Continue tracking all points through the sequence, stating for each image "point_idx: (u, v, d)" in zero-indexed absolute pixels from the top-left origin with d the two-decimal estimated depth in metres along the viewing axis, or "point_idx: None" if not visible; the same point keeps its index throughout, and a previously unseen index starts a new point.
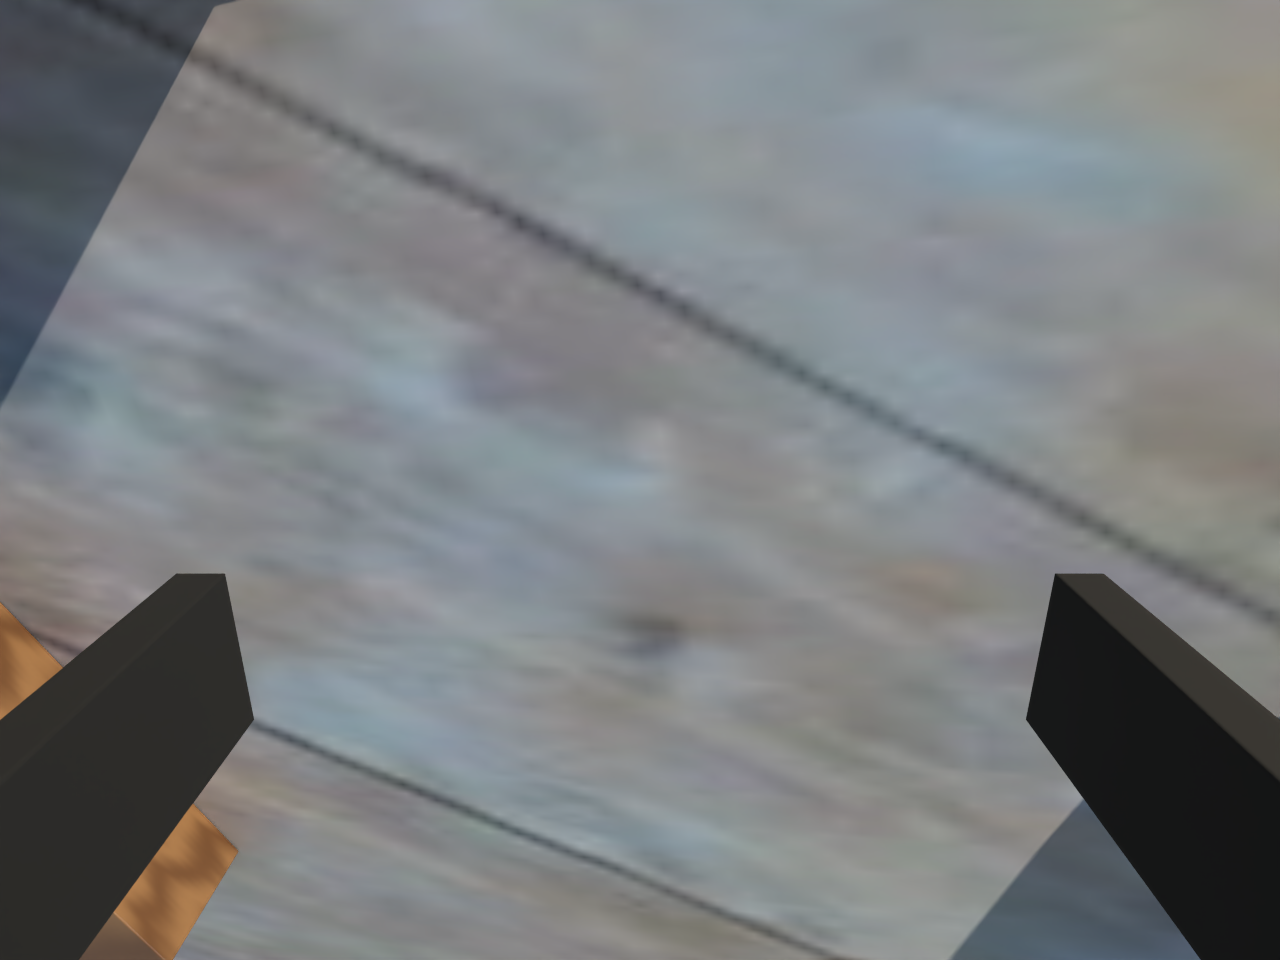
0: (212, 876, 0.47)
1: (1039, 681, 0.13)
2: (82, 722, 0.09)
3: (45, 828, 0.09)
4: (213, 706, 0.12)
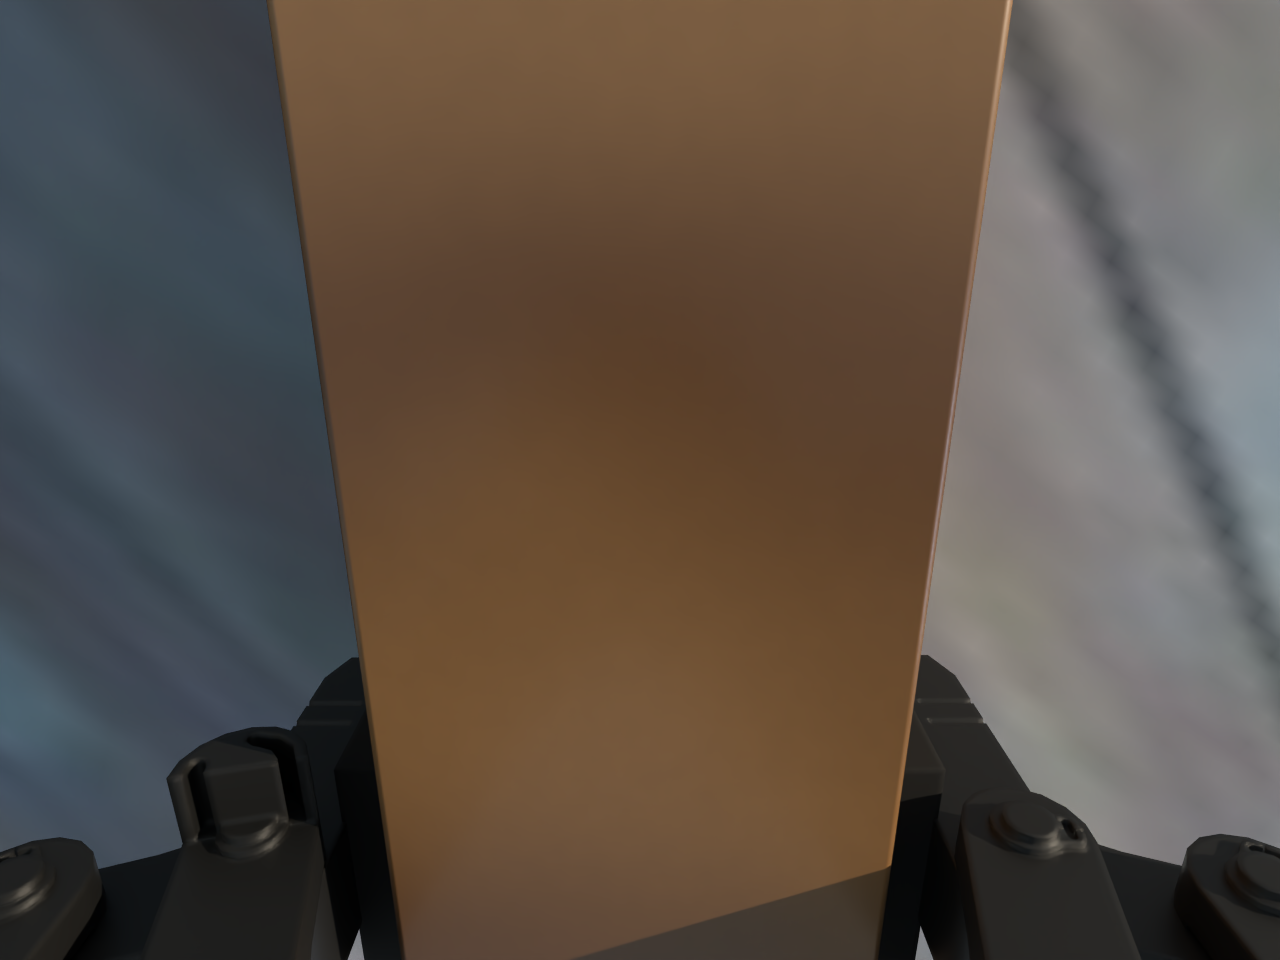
0: None
1: None
2: None
3: None
4: None
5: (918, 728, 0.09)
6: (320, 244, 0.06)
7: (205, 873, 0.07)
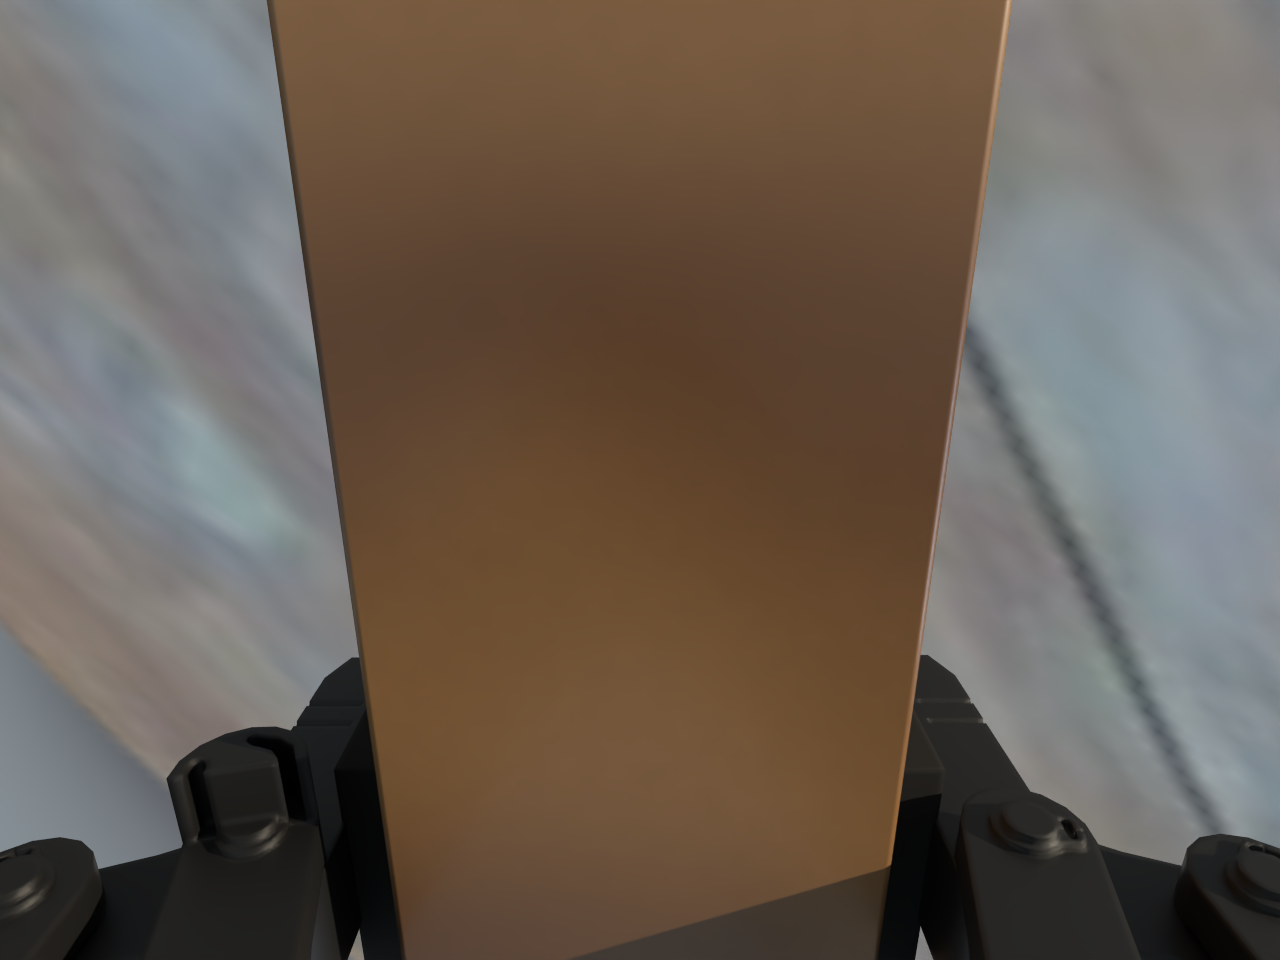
0: None
1: None
2: None
3: None
4: None
5: (918, 728, 0.09)
6: (320, 241, 0.06)
7: (205, 873, 0.07)
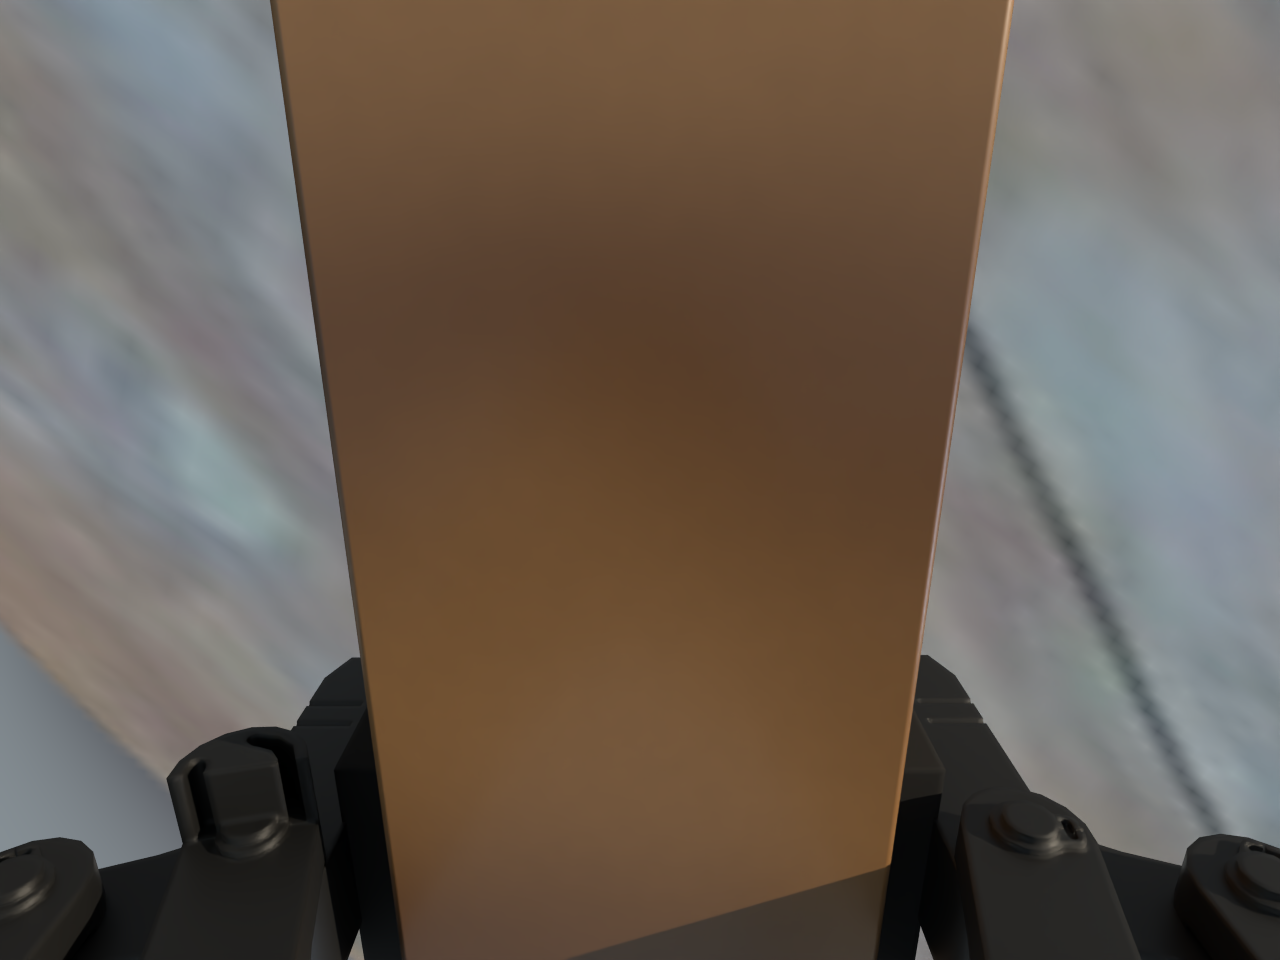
0: None
1: None
2: None
3: None
4: None
5: (918, 728, 0.09)
6: (322, 240, 0.06)
7: (205, 873, 0.07)
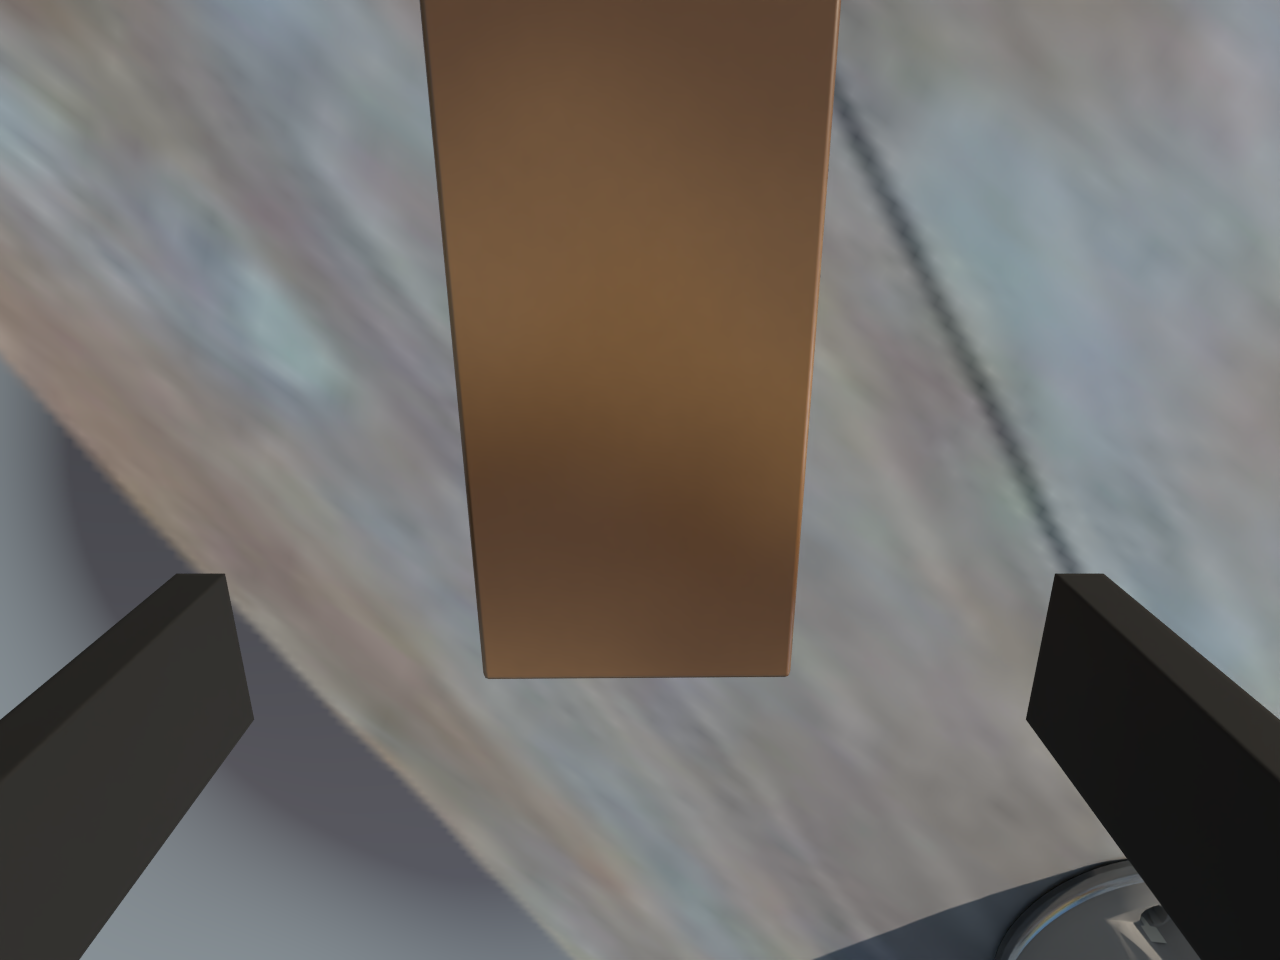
0: None
1: (1038, 681, 0.13)
2: (82, 722, 0.09)
3: (45, 828, 0.09)
4: (213, 706, 0.12)
5: None
6: None
7: None
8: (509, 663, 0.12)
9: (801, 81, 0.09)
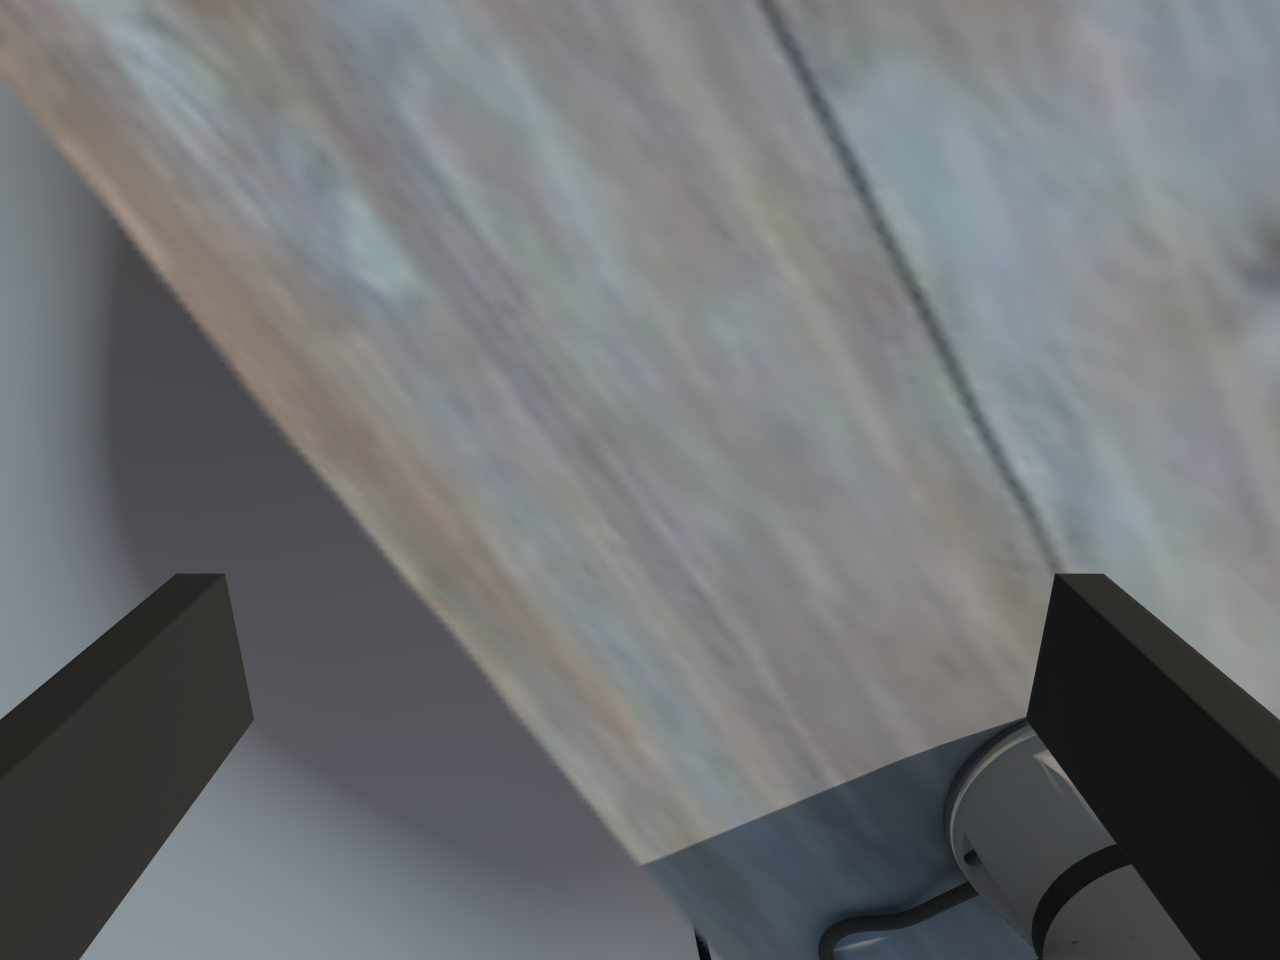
0: None
1: (1039, 681, 0.13)
2: (82, 722, 0.09)
3: (45, 828, 0.09)
4: (213, 706, 0.12)
5: None
6: None
7: None
8: None
9: None
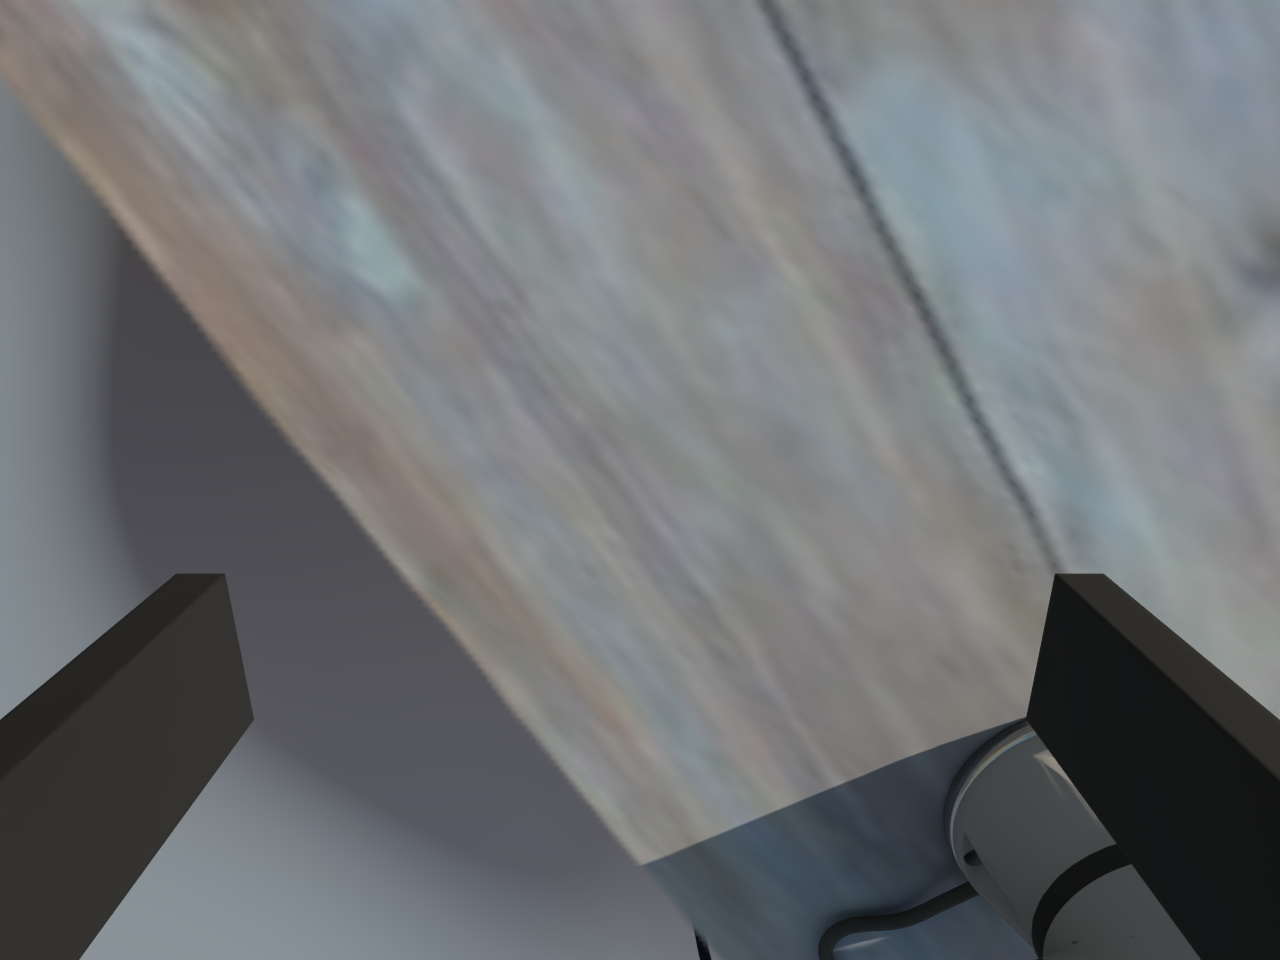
0: None
1: (1039, 681, 0.13)
2: (82, 722, 0.09)
3: (45, 828, 0.09)
4: (213, 706, 0.12)
5: None
6: None
7: None
8: None
9: None
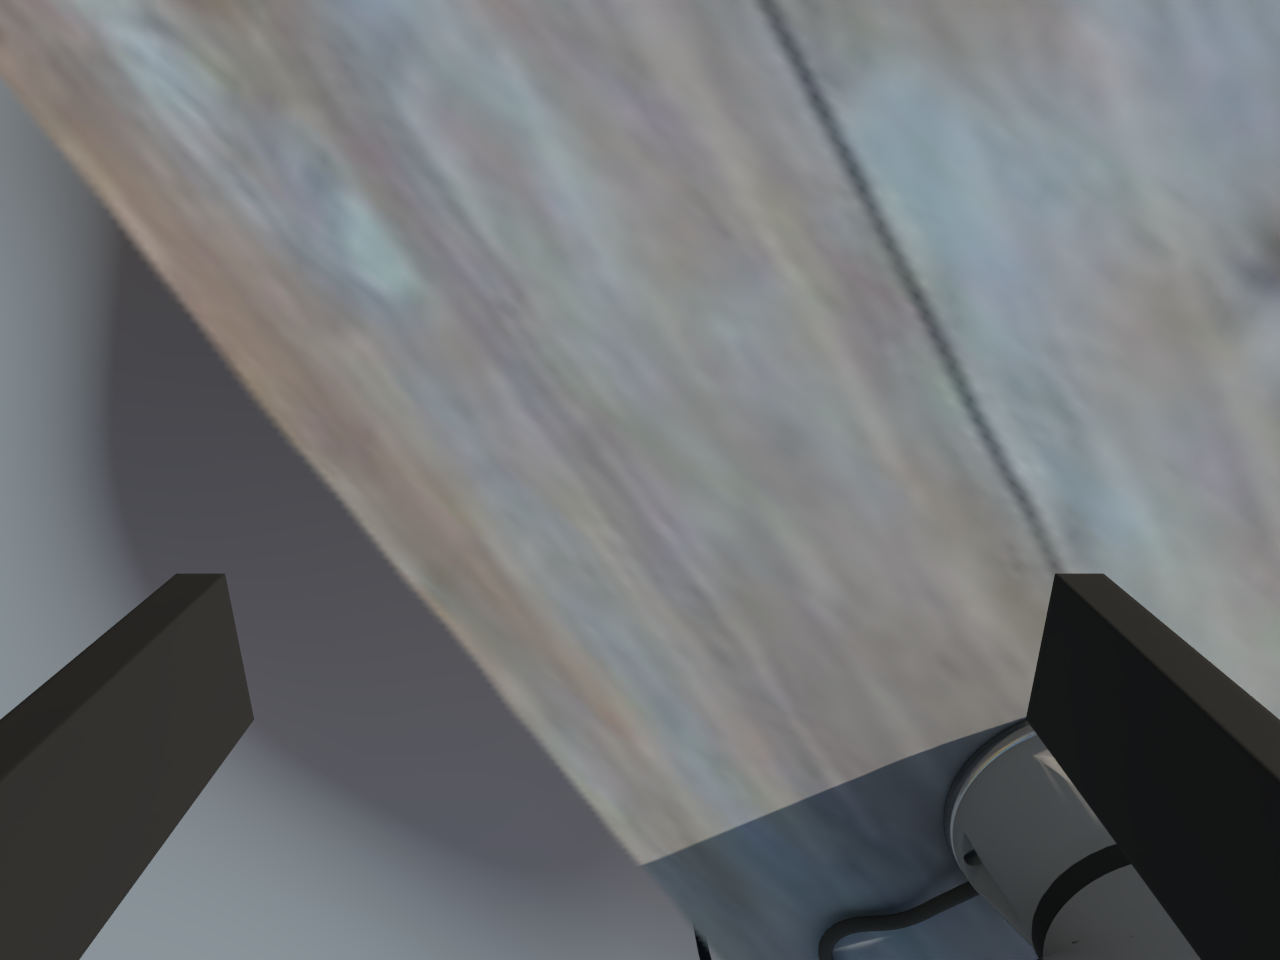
0: None
1: (1039, 681, 0.13)
2: (82, 722, 0.09)
3: (45, 828, 0.09)
4: (213, 706, 0.12)
5: None
6: None
7: None
8: None
9: None
